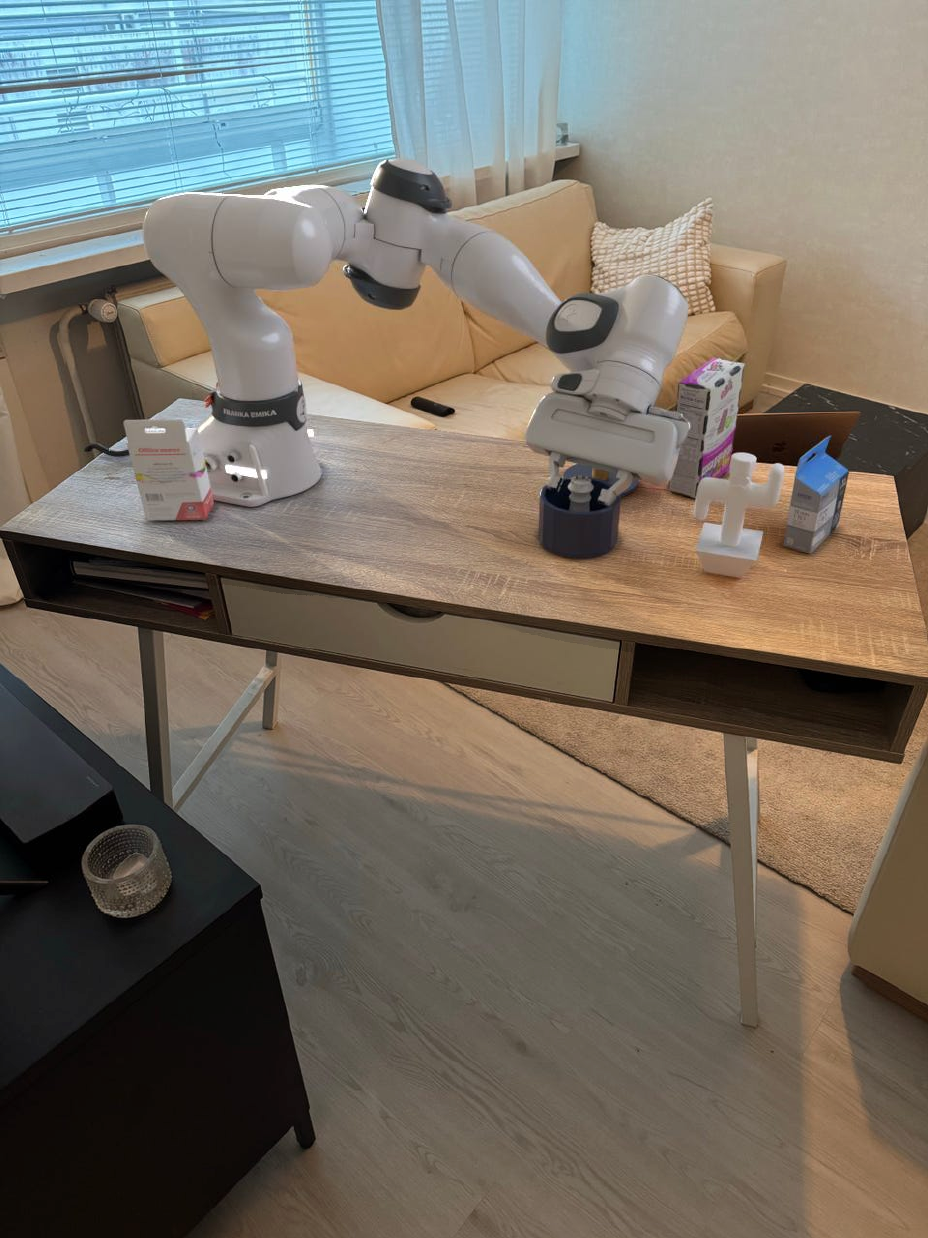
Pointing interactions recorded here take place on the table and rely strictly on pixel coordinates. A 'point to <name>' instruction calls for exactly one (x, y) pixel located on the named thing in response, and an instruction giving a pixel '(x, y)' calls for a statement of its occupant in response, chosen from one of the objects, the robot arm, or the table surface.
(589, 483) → the rook chess piece
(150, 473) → the ink cartridge box
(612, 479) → the tin lid
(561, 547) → the tin
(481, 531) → the table surface
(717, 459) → the candy bar box
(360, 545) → the table surface
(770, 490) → the figurine
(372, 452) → the table surface
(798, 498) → the label tape box
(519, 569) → the table surface
